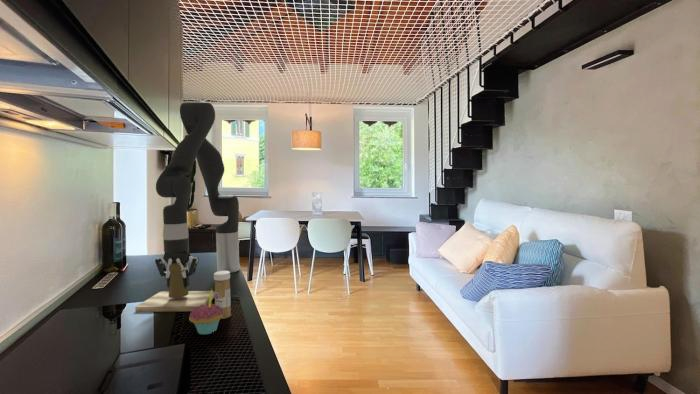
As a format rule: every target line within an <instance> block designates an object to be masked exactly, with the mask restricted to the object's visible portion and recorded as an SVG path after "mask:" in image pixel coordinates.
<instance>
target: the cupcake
mask: <svg viewBox="0 0 700 394" xmlns="http://www.w3.org/2000/svg"><path fill="white" fill-rule="evenodd" d="M209 291H210V296H209V303H208V304H207V305H200V306H197V307H196V308H195V309H193V310H192V311H190V313H189V317H188V320H189V322H190V323H193V324H194V326H195V328H196V332H197V333H198V334H199V335H210V334H213V333H215V332H216V331H217V329H218V326H219V324H220V323H219V322H220V320H221V319H220V318H222V315H223V310H222V309H221V307H219V306H217V305H215V303H212V301H213V299H212V292H213V291H214V290H213V288H211V289H210V290H209ZM214 331H215V332H214ZM212 332H213V333H212Z"/></svg>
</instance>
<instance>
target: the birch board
mask: <svg viewBox="0 0 700 394" xmlns="http://www.w3.org/2000/svg"><path fill="white" fill-rule="evenodd" d="M210 291H211V290H202V291H201V290H190V291H189V290H188V293H189V294H188V295H187V296H184V297H180V298H170V297H169V290H168V291H165V290H163V291H158V292H157V293H156V294H154V295H152V296H151V297H149V298H147V299H146V300H144V301H143V302H140V303H139V304H138V305H136V306H134V308H135V312H136V313H138V312H139V313H141V312H142V313H144V312H147V313H148V312H157V313H158V312H192V310H193V309H195V308H196V307H197V306H200V305H207V304H209V296H210ZM212 291H213V292H212V300H213V299H214V300H215V290H212Z"/></svg>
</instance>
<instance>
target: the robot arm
mask: <svg viewBox="0 0 700 394" xmlns="http://www.w3.org/2000/svg"><path fill="white" fill-rule="evenodd" d="M179 115H180V119H181V123H182V125H183V127H184V129H185V132H186V134H187V135H186V137H185V138H183V139H182V140H181V141H180V142H179V143H177V146H176V147H175V149H174V151H173V154H172V156H171V159H170V162H169V163H168V165H167V166H166V167H165V168H164V169H163V171H162V172H161V173H160V175H159V176H158V178H157V180H156V183H155V191H156V193H157V195H158V196H160V197H162V198H167V199H168V198H175V200H174V203H173V204H168V205H166V206H164V207H163V209H162V210H163V211H162V216H163V217H162V218H163V229H162V230H163V231H162V239H163V252H164V254H163V256H162V257H158V258H156V259H155V260H154V262H155V265H156V268H157V270H158V272H159V276H161V277H165V278H166V284H167V285H166V286H167V288H169V286H170V276H171V272H170V271H169V266H170V265H171V264H172V263H177V264H179V265H181V271H182V272H181V273H182V276H183V284H184V288H185V289H186V287H188V288H189V286H190V277H192V276H193V275H194V274H196V269H197V267H198V264H199V260H200V258H199V256H196V257H194V256H192V255H191V253H190V238H189V237H190V236H189V233H190V232H189V224H188V207H189V202H190V198H191V194H192V186H193V185H192V182H191V180H190V179H189V178H188V177H187V176H188V175H189V174H190V173H192V170H193V167H194V164H195V161H196V160H197V161H196V162H197V164H198V168H199V170H200V173H201V177H202V179H203V182H204V185H205V188H206V192H207V197H208V202H209V206H210V210H211V212H212V214H213V215H214V216H215V217H227V220H226V221H224V222H223V223H221V224H217V225H216V227H215V243H216V244H215V245H216V268H217V269H216V270H217V271H216V272H218V271H229V272H230V274H232V273H235V272H238V271H240V249H239V248H240V246H239V245H240V244H239V243H240V242H239V241H240V240H239V222H240V221H239V212H240V211H239V209H240V206H239V205H240V203H239V199H238V197H237V196H236V195H233V194H228V195H227V194H223V195H221V194H220V191H219V185H220V182H221V180H222V178H223V176H224V174H225V164H224V161H223V156H222V155H221V153H220V151H219V150H218V148H216V147H215V146H214V144H212V143H211V142H210V141H209V140H208V139H207V137H208V135H209V132H210V131H211V129H212V127H213V125H214V124H215V123H214V122H215V119H216V110H215V108H214V105H213V104H212V103H211V102H209V101H184V102H182V103H181V105H180V106H179ZM165 262H166V264H167V267H166V264H165ZM188 262H189V264H190V267H189V265H188ZM184 265H186V267H185V268H184V267H183V266H184Z"/></svg>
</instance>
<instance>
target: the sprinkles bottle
mask: <svg viewBox="0 0 700 394" xmlns="http://www.w3.org/2000/svg"><path fill="white" fill-rule="evenodd" d="M230 279H231V273H230V272H229V271H218V272H217V271H215V272H214V273H213V281H214V291H215V298H214V305H217V306H219V307H221V309H222V310H223V315H222V318H220V320H225V319H228V318H230V317H231V316H232V312H231V311H232V309H231V281H230Z"/></svg>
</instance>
